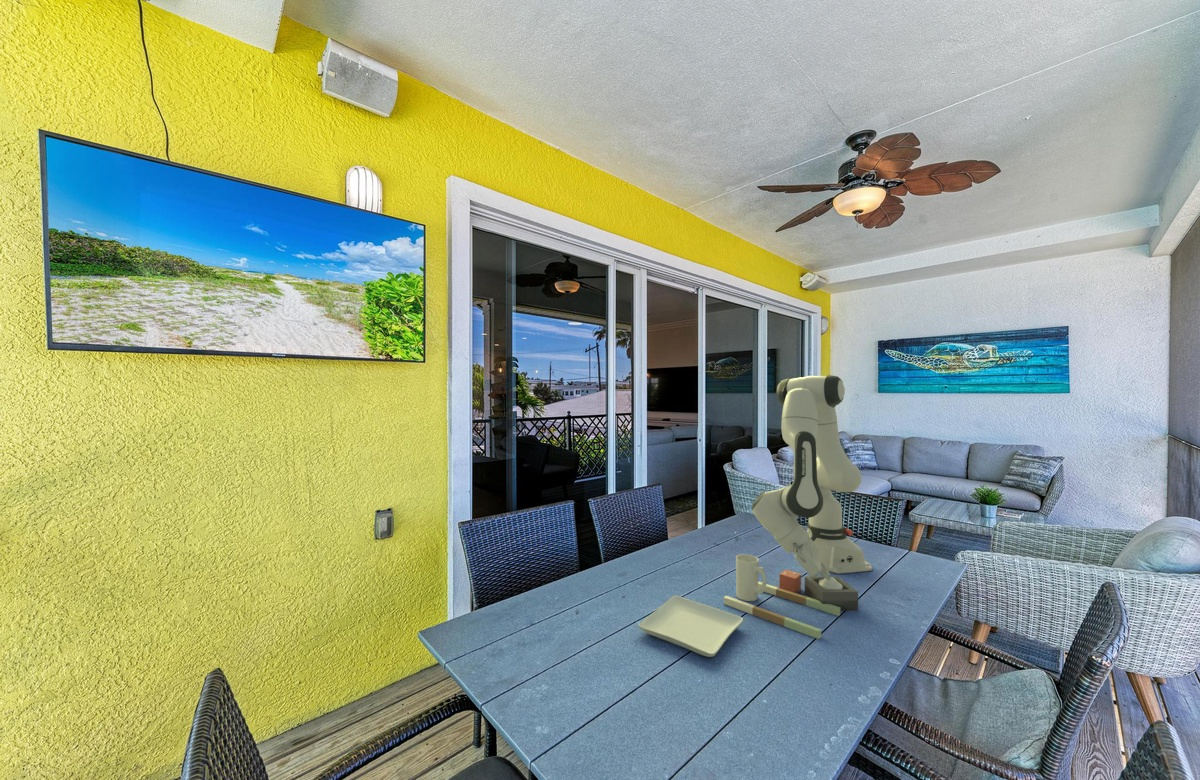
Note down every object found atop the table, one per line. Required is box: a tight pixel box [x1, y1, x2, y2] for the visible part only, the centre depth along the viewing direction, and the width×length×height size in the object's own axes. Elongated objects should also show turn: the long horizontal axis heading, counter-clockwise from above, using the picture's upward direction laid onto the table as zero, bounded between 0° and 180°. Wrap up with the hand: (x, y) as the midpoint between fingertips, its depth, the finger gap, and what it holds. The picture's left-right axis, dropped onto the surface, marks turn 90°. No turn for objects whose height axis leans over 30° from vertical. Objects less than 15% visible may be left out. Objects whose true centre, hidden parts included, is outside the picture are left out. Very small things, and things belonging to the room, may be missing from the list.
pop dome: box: [819, 576, 842, 589], centre depth 136 cm, size 6×6×4 cm
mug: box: [735, 553, 767, 602], centre depth 138 cm, size 10×7×12 cm, turn 35°
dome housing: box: [804, 576, 859, 612], centre depth 136 cm, size 11×11×6 cm
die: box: [778, 569, 802, 594], centre depth 145 cm, size 5×5×5 cm
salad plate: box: [638, 595, 744, 658], centre depth 119 cm, size 21×21×3 cm
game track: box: [723, 581, 841, 640], centre depth 132 cm, size 27×18×2 cm, turn 46°
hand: (828, 576), depth 136 cm, fingers closed, pressing on pop dome
